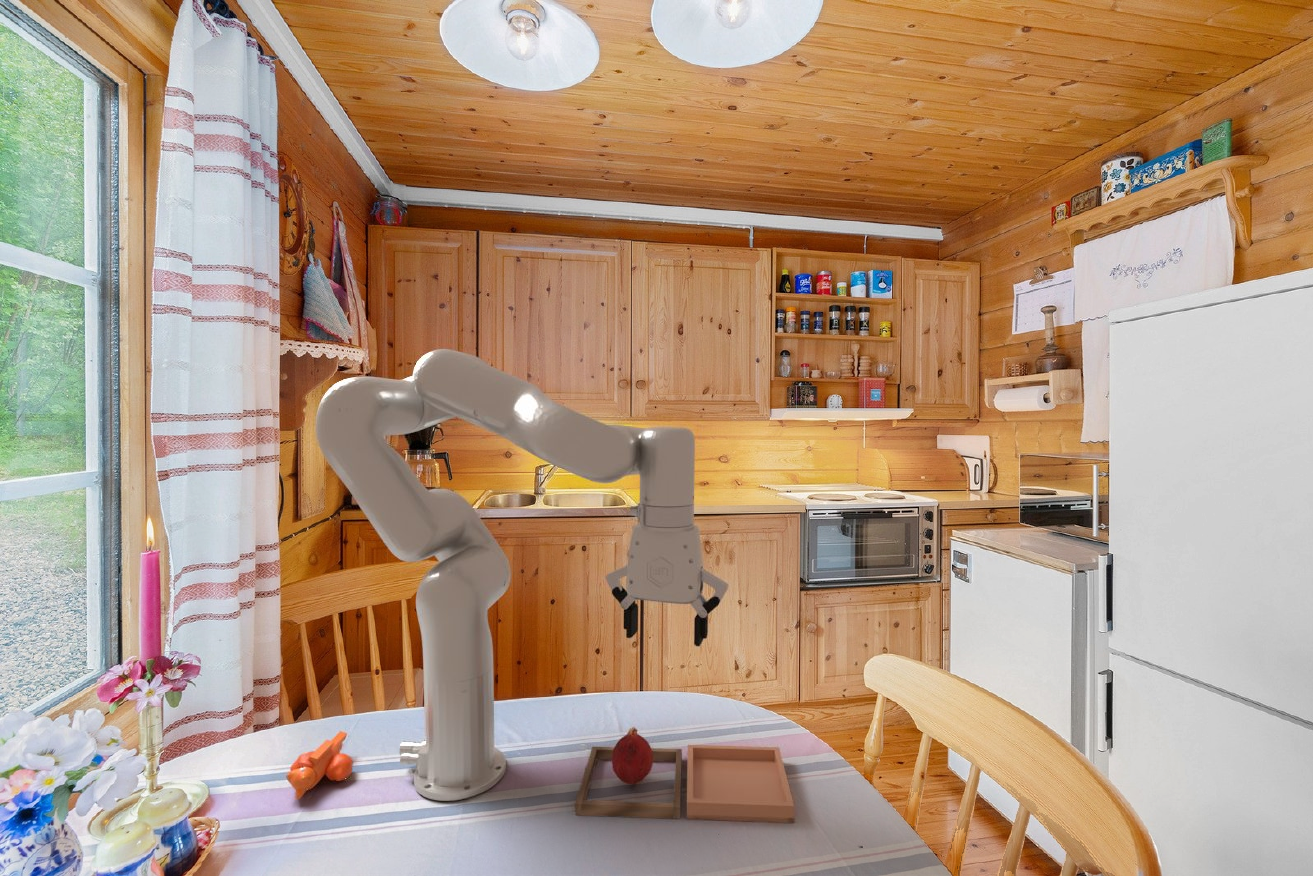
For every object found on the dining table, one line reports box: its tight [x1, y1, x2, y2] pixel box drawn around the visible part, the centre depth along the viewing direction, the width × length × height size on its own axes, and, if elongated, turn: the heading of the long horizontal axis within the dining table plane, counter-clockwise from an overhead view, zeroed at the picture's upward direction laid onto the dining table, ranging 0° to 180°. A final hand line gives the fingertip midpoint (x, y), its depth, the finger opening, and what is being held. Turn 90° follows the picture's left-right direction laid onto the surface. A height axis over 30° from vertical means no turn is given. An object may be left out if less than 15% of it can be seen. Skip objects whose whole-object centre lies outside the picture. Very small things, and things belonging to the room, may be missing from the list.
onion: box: [611, 727, 654, 786], centre depth 85 cm, size 6×6×8 cm
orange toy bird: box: [285, 731, 354, 800], centre depth 87 cm, size 5×8×12 cm
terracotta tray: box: [686, 744, 795, 824], centre depth 84 cm, size 14×14×2 cm
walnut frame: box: [574, 745, 683, 820], centre depth 85 cm, size 14×14×2 cm
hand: (665, 638), depth 84 cm, fingers open, 9 cm apart
